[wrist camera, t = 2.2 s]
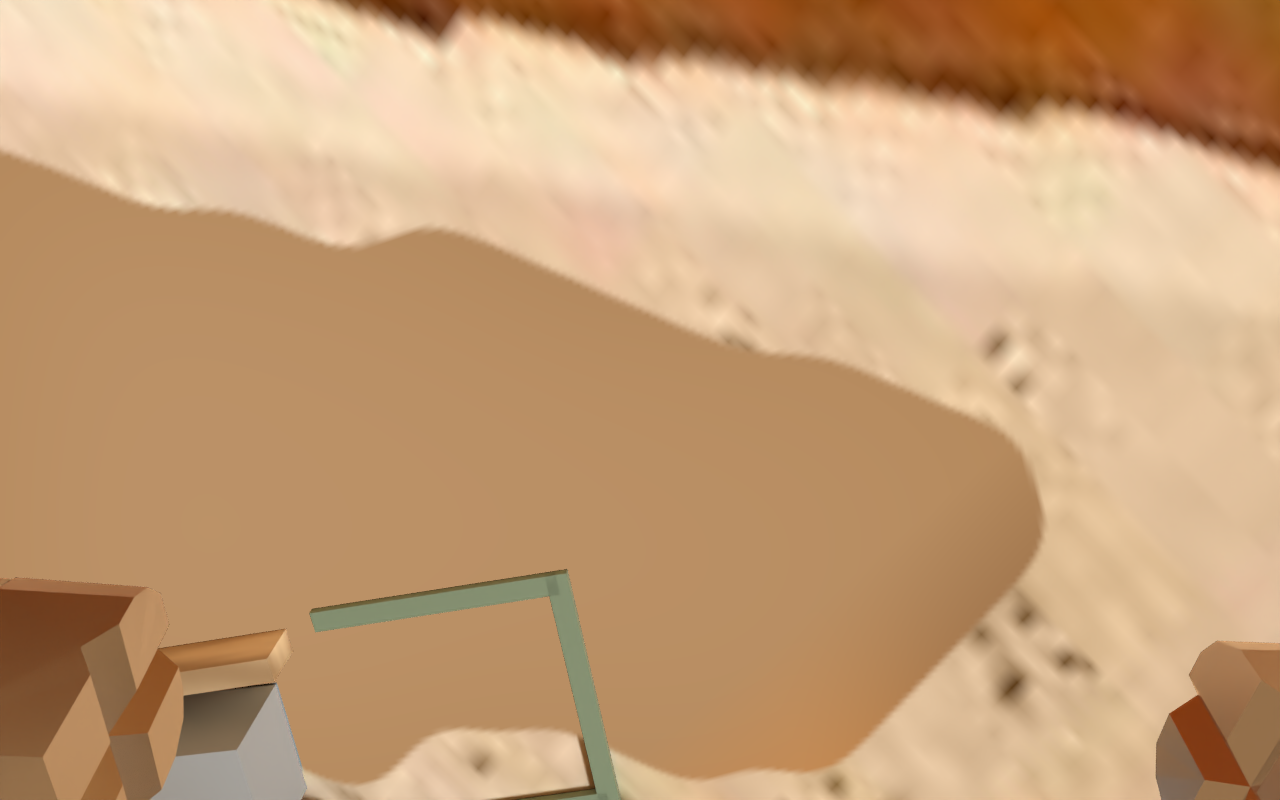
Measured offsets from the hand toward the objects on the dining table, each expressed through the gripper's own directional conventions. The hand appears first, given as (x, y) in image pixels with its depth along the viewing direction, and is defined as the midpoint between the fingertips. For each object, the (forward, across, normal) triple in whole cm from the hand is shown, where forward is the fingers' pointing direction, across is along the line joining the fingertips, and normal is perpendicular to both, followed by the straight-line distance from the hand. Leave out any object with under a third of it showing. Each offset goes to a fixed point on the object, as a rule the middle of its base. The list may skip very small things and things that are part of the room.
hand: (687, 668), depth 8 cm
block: (+29, -18, -37) cm, 50 cm away
